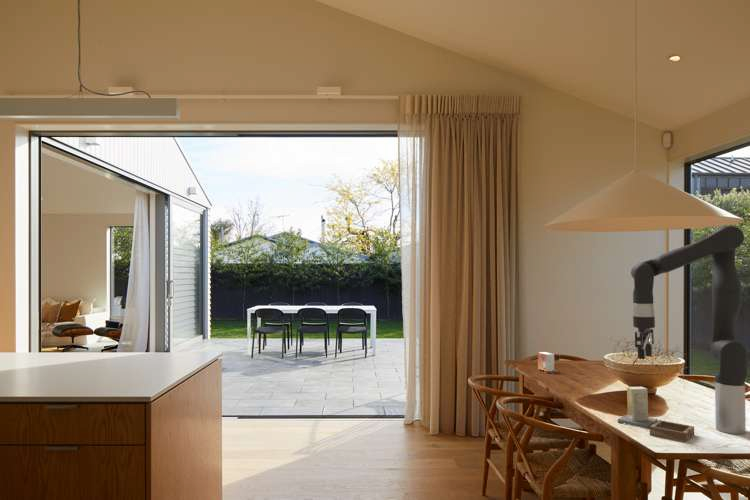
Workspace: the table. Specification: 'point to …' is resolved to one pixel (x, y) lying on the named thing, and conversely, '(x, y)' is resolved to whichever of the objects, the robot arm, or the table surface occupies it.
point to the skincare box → (637, 403)
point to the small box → (545, 361)
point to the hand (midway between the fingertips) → (645, 357)
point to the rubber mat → (637, 423)
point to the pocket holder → (672, 431)
